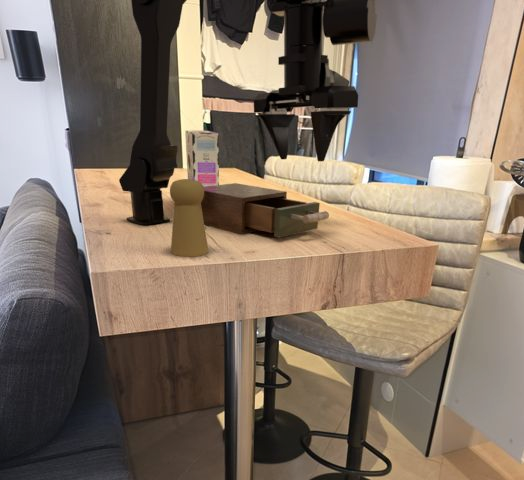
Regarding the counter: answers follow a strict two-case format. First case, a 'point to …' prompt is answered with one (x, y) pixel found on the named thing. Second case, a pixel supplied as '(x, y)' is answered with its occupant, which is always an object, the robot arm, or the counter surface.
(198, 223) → the cork
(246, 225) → the drawer
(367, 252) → the counter surface
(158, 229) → the counter surface
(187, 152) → the candy box
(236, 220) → the cabinet
